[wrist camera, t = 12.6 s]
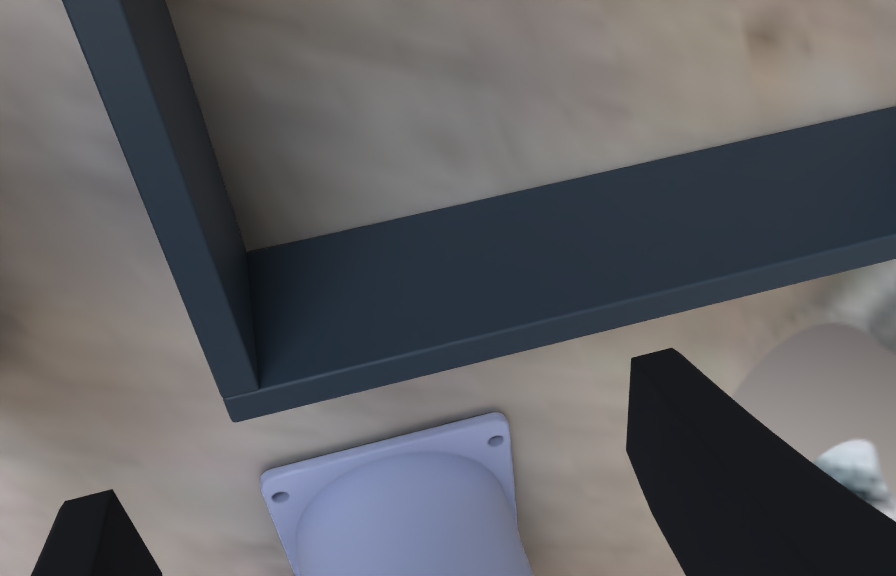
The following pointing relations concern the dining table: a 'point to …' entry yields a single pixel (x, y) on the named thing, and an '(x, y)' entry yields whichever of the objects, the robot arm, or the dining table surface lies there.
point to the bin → (474, 239)
